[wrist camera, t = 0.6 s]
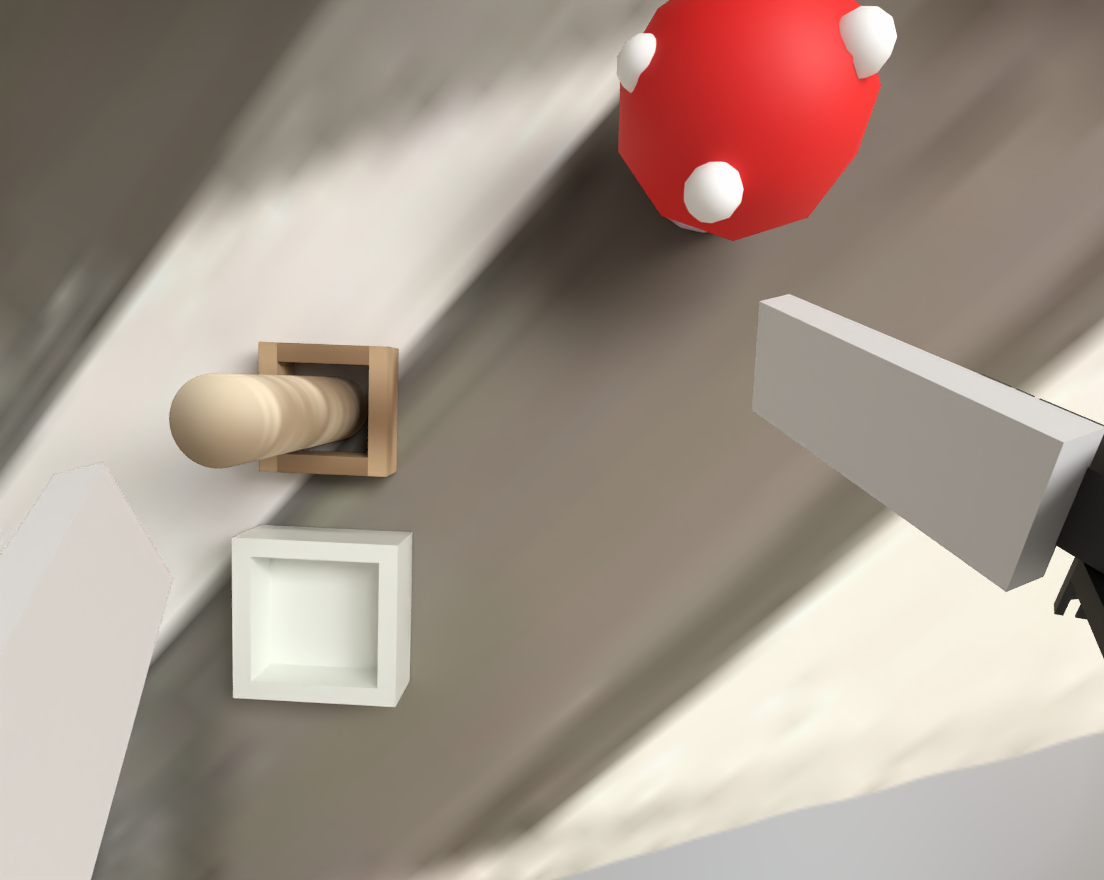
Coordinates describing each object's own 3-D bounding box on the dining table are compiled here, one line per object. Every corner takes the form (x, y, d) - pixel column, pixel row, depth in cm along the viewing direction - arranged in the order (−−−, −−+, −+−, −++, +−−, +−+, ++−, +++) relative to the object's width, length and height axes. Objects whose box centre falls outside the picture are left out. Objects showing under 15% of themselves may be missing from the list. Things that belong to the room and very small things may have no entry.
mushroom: (602, 267, 34) (619, 205, 22) (607, 58, 33) (628, -126, 21) (797, 269, 34) (922, 207, 22) (809, 59, 33) (945, -128, 21)
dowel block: (276, 344, 35) (258, 341, 33) (398, 349, 35) (387, 346, 33) (276, 466, 36) (259, 471, 34) (396, 471, 35) (386, 476, 33)
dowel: (305, 375, 35) (168, 371, 23) (368, 377, 35) (262, 375, 23) (305, 438, 35) (170, 466, 23) (367, 440, 35) (263, 470, 23)
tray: (259, 524, 36) (231, 537, 33) (412, 532, 36) (398, 545, 33) (260, 672, 37) (233, 697, 34) (409, 680, 37) (395, 707, 34)
